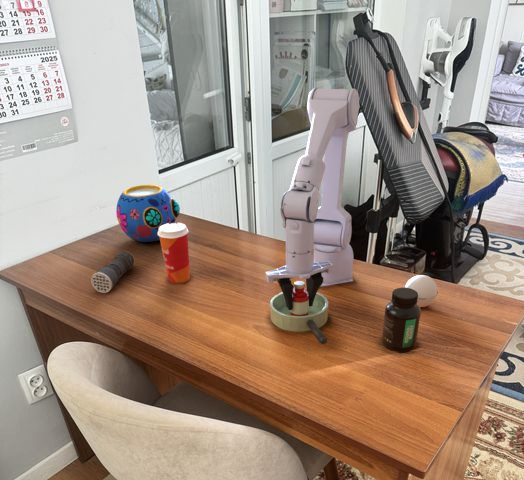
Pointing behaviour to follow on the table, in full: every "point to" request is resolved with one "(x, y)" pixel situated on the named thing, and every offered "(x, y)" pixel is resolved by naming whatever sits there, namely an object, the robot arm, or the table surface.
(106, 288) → the flashlight
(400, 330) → the supplement bottle
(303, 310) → the sauce bottle
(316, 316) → the pan
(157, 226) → the ceramic pot
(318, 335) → the pan handle
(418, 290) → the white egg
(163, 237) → the paper cup
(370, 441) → the table surface
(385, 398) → the table surface
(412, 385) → the table surface
